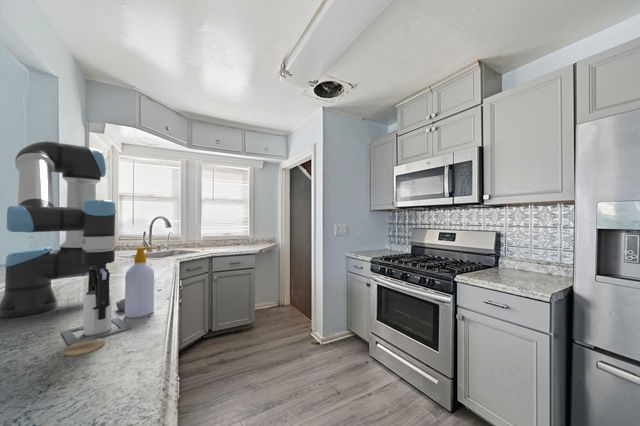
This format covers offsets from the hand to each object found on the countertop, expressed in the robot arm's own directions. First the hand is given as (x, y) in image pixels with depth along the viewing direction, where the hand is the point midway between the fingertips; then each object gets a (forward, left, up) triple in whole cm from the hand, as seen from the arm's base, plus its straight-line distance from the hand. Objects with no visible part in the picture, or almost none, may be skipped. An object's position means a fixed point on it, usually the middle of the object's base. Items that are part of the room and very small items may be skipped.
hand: (97, 326), depth 78 cm
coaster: (+10, -5, -1) cm, 12 cm away
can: (0, 0, -2) cm, 2 cm away
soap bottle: (-8, +13, -2) cm, 16 cm away
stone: (-17, +14, -2) cm, 22 cm away
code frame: (-1, 0, -1) cm, 2 cm away
